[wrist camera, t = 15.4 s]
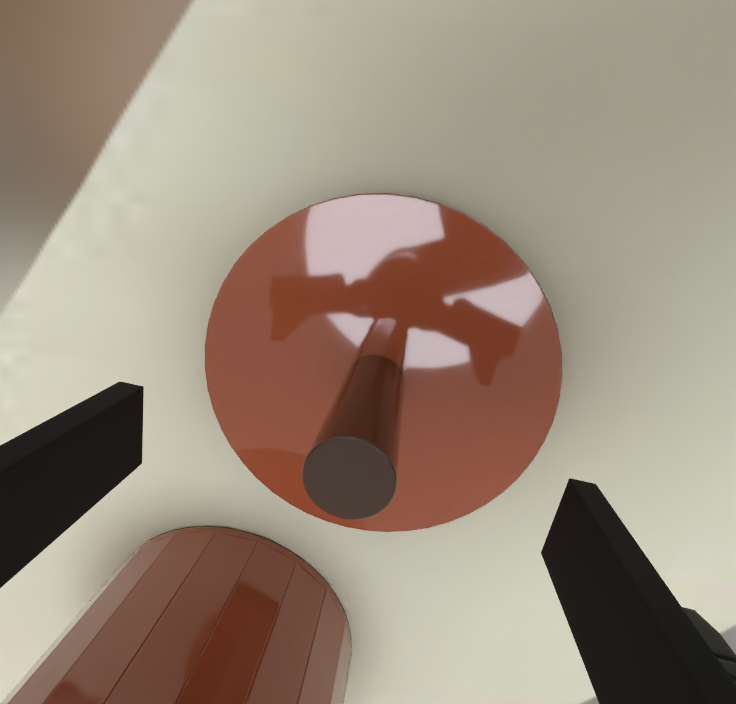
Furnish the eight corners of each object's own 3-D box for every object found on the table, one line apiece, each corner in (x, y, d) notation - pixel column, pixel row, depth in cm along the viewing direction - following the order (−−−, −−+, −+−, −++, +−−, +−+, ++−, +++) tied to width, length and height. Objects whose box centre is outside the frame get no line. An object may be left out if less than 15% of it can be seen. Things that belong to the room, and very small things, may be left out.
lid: (606, 234, 18) (779, 245, 9) (499, 546, 23) (546, 739, 14) (228, 163, 19) (69, 114, 10) (205, 479, 24) (87, 622, 15)
